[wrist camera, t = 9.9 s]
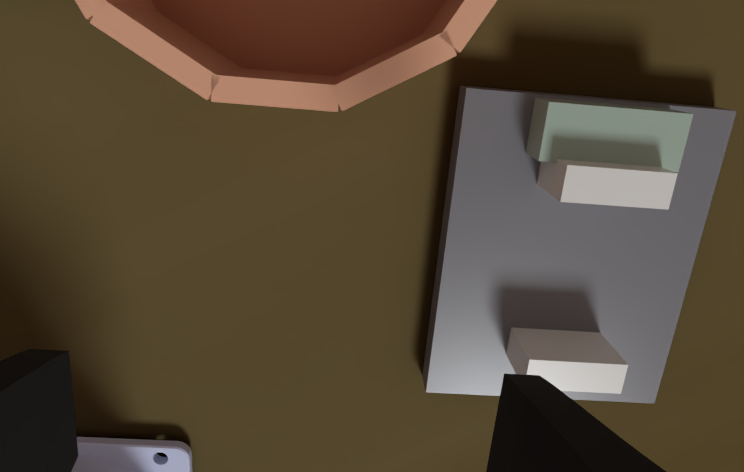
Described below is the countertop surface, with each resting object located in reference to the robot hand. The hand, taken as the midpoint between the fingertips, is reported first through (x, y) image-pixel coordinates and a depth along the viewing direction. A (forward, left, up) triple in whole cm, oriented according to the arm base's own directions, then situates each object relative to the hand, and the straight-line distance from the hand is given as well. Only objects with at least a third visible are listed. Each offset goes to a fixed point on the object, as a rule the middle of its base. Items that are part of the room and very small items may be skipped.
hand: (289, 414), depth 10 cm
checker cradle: (+8, 0, -9) cm, 12 cm away
